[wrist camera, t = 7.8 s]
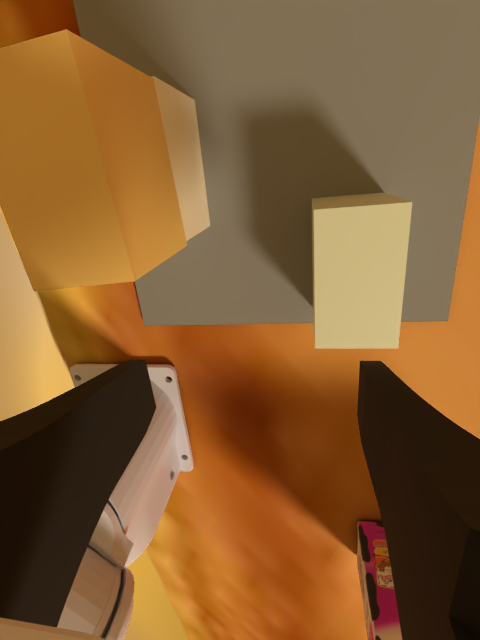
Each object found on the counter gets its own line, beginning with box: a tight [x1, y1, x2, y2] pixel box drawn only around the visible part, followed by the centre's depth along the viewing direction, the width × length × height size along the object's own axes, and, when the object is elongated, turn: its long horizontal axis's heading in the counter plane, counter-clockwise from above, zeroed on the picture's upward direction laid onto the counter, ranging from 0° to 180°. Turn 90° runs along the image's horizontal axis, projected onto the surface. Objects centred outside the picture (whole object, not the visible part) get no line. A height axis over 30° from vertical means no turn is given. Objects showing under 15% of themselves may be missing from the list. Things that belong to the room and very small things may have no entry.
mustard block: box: [0, 29, 187, 291], centre depth 12 cm, size 6×4×5 cm, turn 8°
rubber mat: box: [72, 0, 480, 326], centre depth 17 cm, size 18×18×1 cm
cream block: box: [152, 76, 210, 241], centre depth 16 cm, size 6×4×5 cm, turn 6°
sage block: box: [312, 192, 412, 348], centre depth 16 cm, size 6×4×5 cm, turn 5°
